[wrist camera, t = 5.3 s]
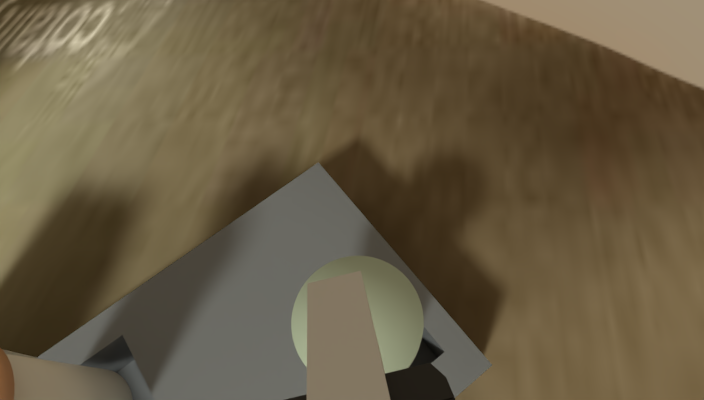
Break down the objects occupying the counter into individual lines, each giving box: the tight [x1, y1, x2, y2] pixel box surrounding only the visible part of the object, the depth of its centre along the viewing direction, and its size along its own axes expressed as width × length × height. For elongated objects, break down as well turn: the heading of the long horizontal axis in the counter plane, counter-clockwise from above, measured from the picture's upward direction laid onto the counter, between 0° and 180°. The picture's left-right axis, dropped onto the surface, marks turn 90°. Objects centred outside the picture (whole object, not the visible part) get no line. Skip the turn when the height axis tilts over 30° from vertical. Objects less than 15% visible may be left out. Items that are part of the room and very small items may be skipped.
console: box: [36, 162, 492, 400], centre depth 27 cm, size 16×23×5 cm
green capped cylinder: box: [291, 256, 424, 373], centre depth 24 cm, size 6×6×10 cm
